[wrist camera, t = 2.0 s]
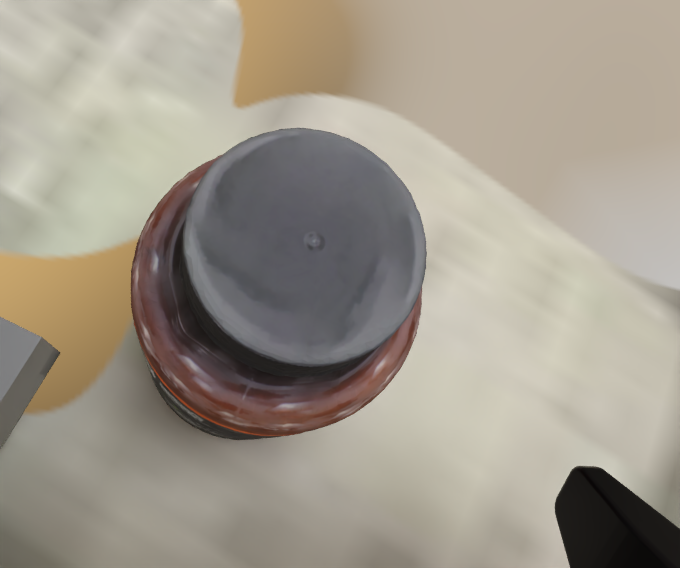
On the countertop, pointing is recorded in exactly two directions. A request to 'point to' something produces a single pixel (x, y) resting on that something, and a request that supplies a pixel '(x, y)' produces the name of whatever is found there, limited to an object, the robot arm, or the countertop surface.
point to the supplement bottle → (279, 285)
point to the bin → (20, 371)
